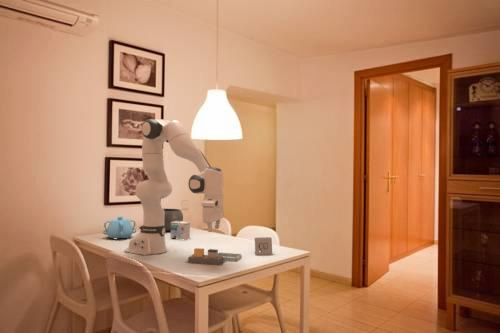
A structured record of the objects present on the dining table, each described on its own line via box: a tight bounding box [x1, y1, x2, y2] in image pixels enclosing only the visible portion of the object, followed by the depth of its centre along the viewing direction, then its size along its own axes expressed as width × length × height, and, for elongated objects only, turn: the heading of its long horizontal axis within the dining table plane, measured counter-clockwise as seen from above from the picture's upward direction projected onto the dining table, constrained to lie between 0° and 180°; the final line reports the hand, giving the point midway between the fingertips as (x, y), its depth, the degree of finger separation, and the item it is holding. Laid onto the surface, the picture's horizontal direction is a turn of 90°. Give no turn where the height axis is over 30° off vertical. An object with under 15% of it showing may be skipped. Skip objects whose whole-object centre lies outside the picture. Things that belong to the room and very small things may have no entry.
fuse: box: [193, 247, 205, 257], centre depth 178 cm, size 4×2×6 cm, turn 77°
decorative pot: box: [102, 216, 137, 239], centre depth 237 cm, size 16×16×14 cm
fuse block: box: [184, 253, 227, 267], centre depth 177 cm, size 18×8×4 cm, turn 77°
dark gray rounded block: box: [163, 208, 184, 232], centre depth 266 cm, size 20×20×15 cm
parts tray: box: [218, 251, 243, 263], centre depth 185 cm, size 12×9×3 cm
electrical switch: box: [254, 236, 273, 256], centre depth 200 cm, size 9×5×9 cm, turn 99°
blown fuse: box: [207, 248, 219, 258], centre depth 177 cm, size 4×2×6 cm, turn 77°
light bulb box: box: [169, 220, 191, 241], centre depth 238 cm, size 11×7×11 cm, turn 69°
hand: (213, 230), depth 176 cm, fingers open, 8 cm apart
